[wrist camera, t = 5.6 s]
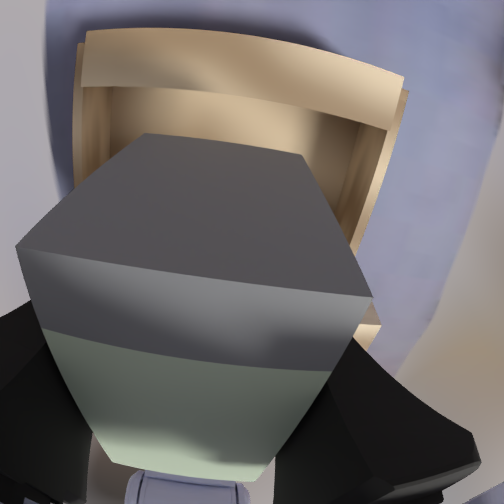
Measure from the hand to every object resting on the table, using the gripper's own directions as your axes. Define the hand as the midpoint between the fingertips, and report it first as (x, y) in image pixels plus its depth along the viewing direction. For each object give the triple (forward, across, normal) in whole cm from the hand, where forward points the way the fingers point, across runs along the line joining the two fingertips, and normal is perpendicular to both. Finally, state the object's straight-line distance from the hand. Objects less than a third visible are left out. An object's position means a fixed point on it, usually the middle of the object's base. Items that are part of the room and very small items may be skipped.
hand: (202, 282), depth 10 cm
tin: (+1, 0, 0) cm, 1 cm away
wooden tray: (+9, 0, 0) cm, 9 cm away
